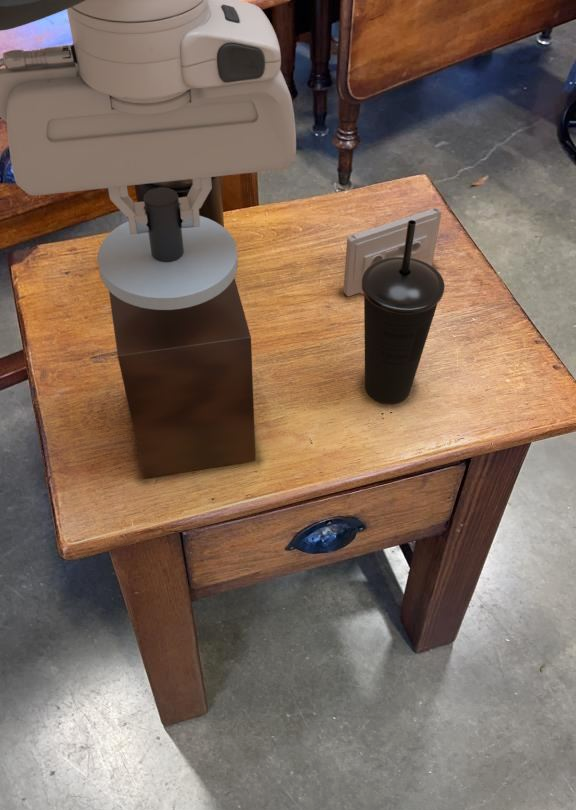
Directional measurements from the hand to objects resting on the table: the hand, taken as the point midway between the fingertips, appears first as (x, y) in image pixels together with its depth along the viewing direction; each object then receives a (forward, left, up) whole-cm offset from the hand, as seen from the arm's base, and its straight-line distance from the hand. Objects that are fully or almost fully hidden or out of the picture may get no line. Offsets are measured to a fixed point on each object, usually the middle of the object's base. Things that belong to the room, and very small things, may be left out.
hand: (164, 226), depth 65 cm
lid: (0, 0, -4) cm, 4 cm away
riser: (0, 0, -24) cm, 24 cm away
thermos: (+3, +24, -24) cm, 34 cm away
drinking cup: (+21, +2, -24) cm, 32 cm away
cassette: (+26, +19, -24) cm, 40 cm away
